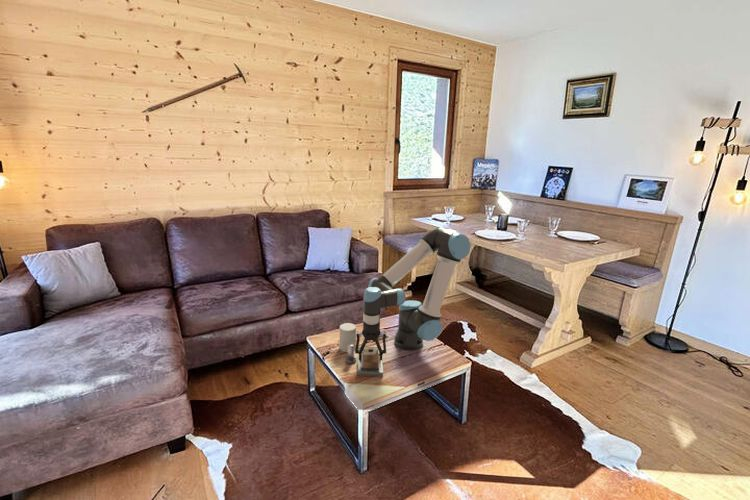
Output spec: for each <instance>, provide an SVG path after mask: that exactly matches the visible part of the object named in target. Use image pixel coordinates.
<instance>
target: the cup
mask: <svg viewBox="0 0 750 500" xmlns="http://www.w3.org/2000/svg"><path fill="white" fill-rule="evenodd" d="M356 332H357V326H356V324H355V323H351V322H345V323H342V324H340V325H339V350H340V351H341V352H344V353H348V344H354V351H355V347H356V341H357V336H356Z"/></svg>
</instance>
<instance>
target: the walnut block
mask: <svg viewBox="0 0 750 500" xmlns="http://www.w3.org/2000/svg"><path fill="white" fill-rule="evenodd" d="M378 352H379V350H378V348H377V346H365V347H364V350H363V368H378V358H379V353H378Z"/></svg>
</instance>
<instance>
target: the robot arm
mask: <svg viewBox="0 0 750 500" xmlns="http://www.w3.org/2000/svg"><path fill="white" fill-rule="evenodd" d="M436 252H437V253H436ZM470 252H471V242H470V238H469V237H468V236H467V235H466V234H464V233H463V232H460V231H457V230H454V229H451V228H448V227H445V226H443V227H442V226H441V227H437V228H435V229H431V231H429V232H427V233H426V234H424V236H422V237H420V239H419V241H418V243H417V244H416V245H415V246H414V247H412V249H410V250H409V251H408V252H407V253H406V254H405V255H403V257H401V258H400V259H399V260H398V261H397V262H395V263H394V264H393V265H392V266H391V267H390V268H389V269H388V270H386V271H385V272H384V273H383V274H382V275H380V276H379V277H373V278H371V279H370V280H369V282H368V287H366V288H365V289H364V293H363V313H362V315H363V317H362V318H363V319H362V321H363V322H362V331H360V332H359V331H356V347H355V350H354V354H357V355H358V359H359V360H361V368H363V350H364V347H366V345H367V343H368V342H370V341H373V342H374V343H375V345H376V347H377V348H378V353H379V358H378V368H380V360H382V361H383V355H384V354H385V355H386V354H387V345H386V343H387V342H386V338H387V332H386V331H383V332H382V331H381V327H380V326H381V322H380V321H381V309H385V308H389V307H397V306H399V308H398V326H397V331H396V333H395V335H394V340H393V343H394V345H395V346H397V348H399V349H402V350H407V351H412V350H418V349H420V348H422V347H423V345H424V344H423V343H424V341H426V342H430V341H434V340H435V339H436V338H438V337H439V336H440V335H441V333H442V330H443V324H442V323H441V318H442V313H441V308H442V305H443V302H444V300H445V296H446V293H447V291H448V288H449V285H450V282H451V279H452V276H453V274H454V271H455V268H456V265H458V264H460V263H461V261H462V260H463V259H466V257H467V256H468V255H469V254H470ZM434 253H436V257H437V262H436V264H435V265H436V266H435V268H434V271H433V274H432V277H431V280H430V283H429V286H428V289H427V292H426V295H425V298H424V300H423V303H422V302H421V301H419V300H413V299H412V300H411V299H409V300H406V293H405V291H404V290H403V288H399V287H398V288H397V287H396V288H393V287H394V286H395V285H396V284H397V283H398V282H399V281H401V280H402V279H403V278H404V277H406V275H407V274H409V273H410V272H411V271H412V270H414V268H415V267H416V266H418V265H419V264H420V263H421V262H422V261H423V260H425V259H426V258H427V257H428V256H429V255H434ZM362 336H363V340H362V343H361V345H360V340H361V337H362ZM379 337H381V338H382V347H383V348H382V347H381V344H380V341H379ZM359 346H360V347H359Z"/></svg>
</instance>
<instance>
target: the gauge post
mask: <svg viewBox="0 0 750 500" xmlns="http://www.w3.org/2000/svg"><path fill="white" fill-rule="evenodd" d="M356 362H357V358H356V357H355V350H354V344H348V352H347V357H345V363H346V364H349V365H352V364H355V363H356Z"/></svg>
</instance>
